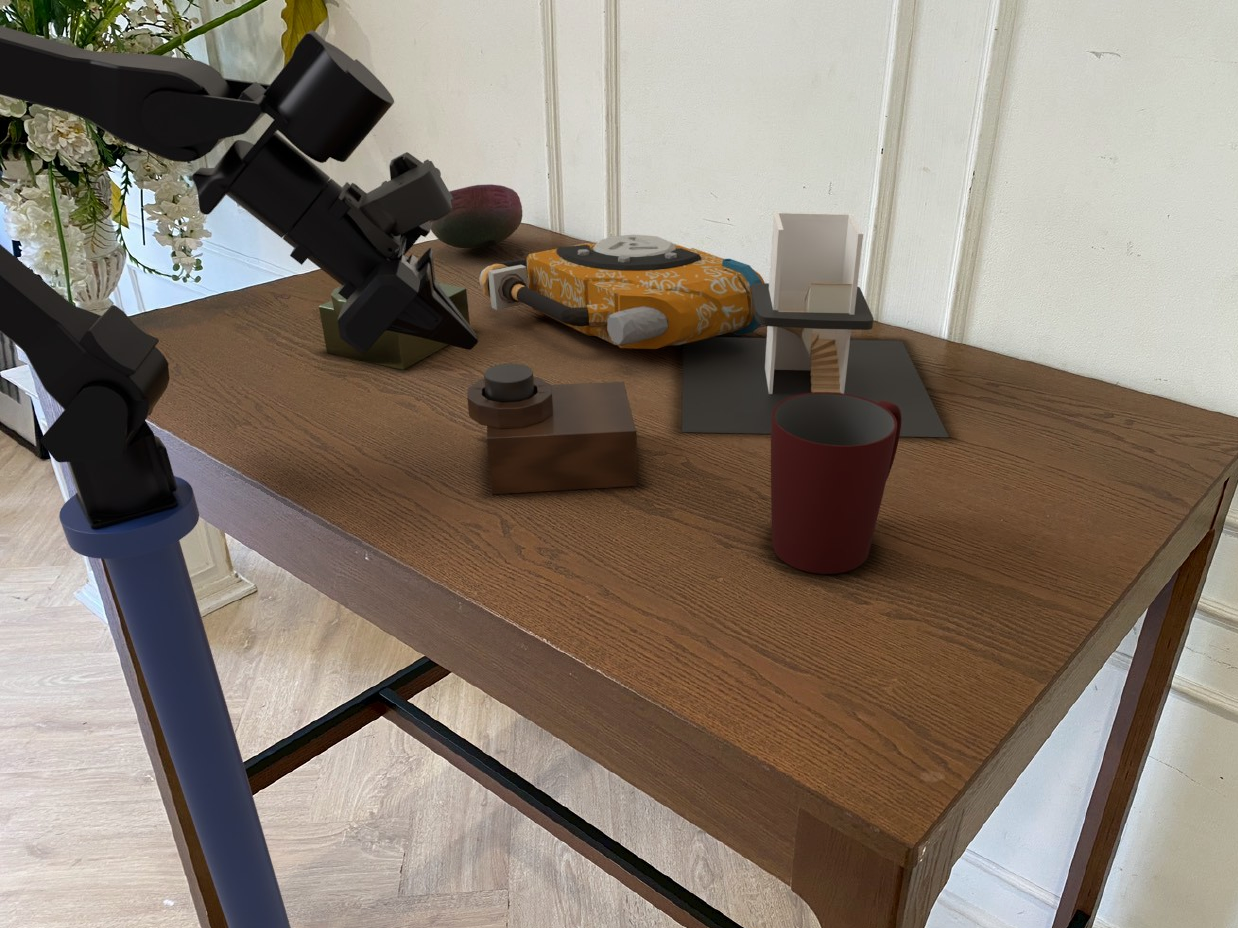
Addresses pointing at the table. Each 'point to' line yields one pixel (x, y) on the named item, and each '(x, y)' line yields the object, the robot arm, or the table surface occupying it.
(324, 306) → the green block
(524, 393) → the black button
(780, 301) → the dark square-based piece
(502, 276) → the device
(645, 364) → the table surface
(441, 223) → the bowl
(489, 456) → the walnut block
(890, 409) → the mug
